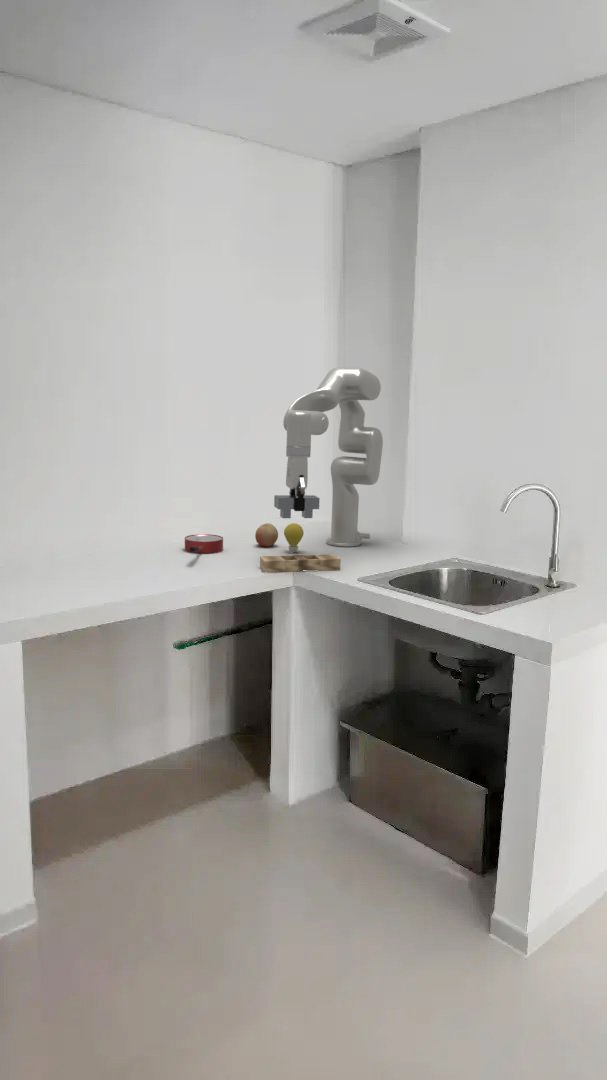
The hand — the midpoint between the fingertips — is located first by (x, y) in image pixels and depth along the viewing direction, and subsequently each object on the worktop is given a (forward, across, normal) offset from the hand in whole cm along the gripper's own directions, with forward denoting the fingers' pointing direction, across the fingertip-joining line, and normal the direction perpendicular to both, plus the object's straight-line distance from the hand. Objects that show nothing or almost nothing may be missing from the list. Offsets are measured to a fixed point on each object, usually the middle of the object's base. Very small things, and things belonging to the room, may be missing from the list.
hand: (296, 508), depth 249 cm
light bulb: (+18, -19, +4) cm, 27 cm away
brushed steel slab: (+3, 0, 0) cm, 3 cm away
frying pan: (+18, -17, -27) cm, 37 cm away
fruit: (+18, -30, -3) cm, 35 cm away
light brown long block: (+18, +5, 0) cm, 19 cm away
